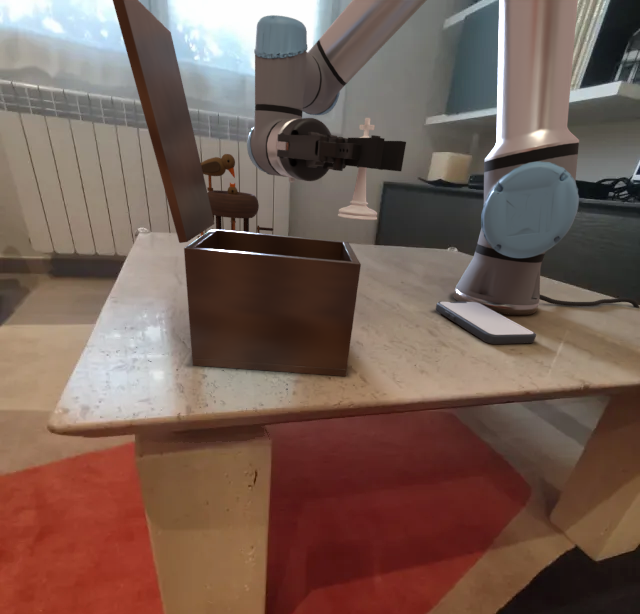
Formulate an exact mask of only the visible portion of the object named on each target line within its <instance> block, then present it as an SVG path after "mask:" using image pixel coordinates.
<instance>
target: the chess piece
mask: <svg viewBox="0 0 640 614" xmlns="http://www.w3.org/2000/svg"><path fill="white" fill-rule="evenodd" d="M371 120H372V119H371V117H364V124H359V129H358V130H361V131H363V135H362V136H360V137H358V138H371V136H370V131H375V126H376V125H375V124H371ZM367 169H368V168H365V167H359V168H358V169H357V174H356V175H357V177H356V181H355V185H354V190H353V195H352V198H351V200H350V201H349V203H350V204H349V205H347V206H343V207H341V208H339V209H338V214H337V217H339V218H344V219H351V220H360V221H361V220H362V221H377V220H378V217H377V216H378V212H377V211H376V210H374V209H373V208H371V207H368V205H369V202H367Z"/></svg>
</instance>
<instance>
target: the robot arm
mask: <svg viewBox="0 0 640 614" xmlns="http://www.w3.org/2000/svg"><path fill="white" fill-rule="evenodd" d="M427 1H428V0H351V1H350V2H349V3H348V4H347V6H346V7H345V8H344V9H343V10H342V12H341V13H340V14H339V15H338V16H337V18H335V19H334V21H333V22H332V23H331V24H330V26H329V27H328V28H327V29H326V30H325V32H324V33H323V34H322V35H321V36H320V38H319V39H318V40H317V41H316V42H315V44H313V46H312V47H311V48H310V49H309V50H308V37H307V35H308V33H307V27H306V26H305V25H306V24H304V23H303V22H302V21H300V20H298V19H297V18H293V17H289V16H286V15H285V16H283V15H275V14H274V15H273V14H271V15H265V16H262V17H261V18H259V20H258V21H257V24H256V30H255V45H254V47H255V48H254V51H253V52H254V114H253V115H254V117H253V119H254V125H253V127H251V130H250V131H249V133H248V135H247V141H246V149H247V154H248V158H249V160H250V161H251V163H252V164H253V165H254V167H255V168H257V170H259V171H261V172H263V173H265V174H267V175H270V176H277V177H283V178H284V177H285V178H288V182H289V183H295V181H296V180H299V181H304V182H315V181H318V180H320V179H322V178H323V177H324V176H326V174H328V172H329V170H333V171H337V172H343V171H344V169H346V168H347V166H348V167H356V168H358V169H359V167H365V168H367V169H370V170H380V171H383V170H384V171H391V172H402V169H403V163H404V158H405V152H406V147H407V141H405V140H385V138H382V137H381V135H376V134H375V135H373V134H372V135H371V136H370V138H359V137H343V136H338V135H335V134H334V135H333V134H332V132H331V131H330V129H329V127H327V125H326V124H325V123H324V122H323V121H321V120H319V119H317V118H314V117H303V113H305V114H306V115H311V116H324V115H327V114H329V113H330V112H331V111H333V109H334V108H335V107H336V105H337V103H338V102H339V101H338V99H339V97H340V92H341V90H342V89H343V88H344V87H345V86H346V85H347V84H348V83H349V82H350V81H351V80H352V79H353V78H354V77H355V76H356V74H358V73H359V72H360V70H361V69H363V67H364V66H365V65H366V64H367V63H368V62H369V61H370V60H371V59H372V58H373V57H374V56H375V55H376V54H377V53H378V51H380V50H381V49H382V48H383V47H384V45H385V44H387V43H388V41H389V40H390V39H391V38H392V37H393V36H394V35H395V34H397V32H398V31H399V30H400V29H401V28H402V27H403V26H404V24H406V23H407V21H408V20H409V19H410V18H412V16H413V15H414V14H415V13H416V12H417V11H418V10H419V9H420V8H421V7H422V6H423V5H424V4H425V3H426V2H427ZM578 2H579V0H498V39H497V40H498V44H497V45H498V46H497V48H498V49H497V87H496V89H497V90H496V91H497V92H496V95H497V96H496V132H495V133H496V137H495V140H496V141H495V145H494V147H493V148H492V149H491V150H490V152H489V153H488V154H487V156H486V157H485V158H484V164H483V165H484V166H483V167H484V168H483V208H482V210H481V215H480V217H481V218H480V226H481V229H480V232H479V236H478V240H477V244H476V246H475V251H474V253H473V254H474V255H473V256H472V259H471V260H470V262H469V264H468V266H467V267H466V269H465V270H464V272H463V274H462V276H461V277H460V279H459V280H458V282H457V284H456V286H455V289H454V292H453V299H454V300H455V301H456V302H477V303H480V304H482V305H484V306H486V307H487V308H489V309H491V310H493V311H495V312H497V313H499V314H501V315H507V316H508V315H510V316H528V315H533V314H535V313H536V312H537V309H538V307H539V304H540V300H541V301H543V302H546V303H548V304H552V305H557V306H566V307H595V306H599V305H602V304H616V303H629V304H631V305H632V306H633V308H636V309H639V308H640V305H639V303H638V301H637V300H635V299H634V298H630V297H616V298H604V299H603V298H602V299H597V300H595V301H567V300H560V299H555V298H551V297H548V296H546V295H543V294H540V293H541V267H542V263H543V261H544V258H545V254H546V252H548V251H549V250H551V249H553V247H555V246H556V245H557V244H559V242H561V241H562V239H564V237H565V236H566V235H567V234H568V232H569V231H570V229H571V227H572V226H573V224H574V221H575V220H576V217H577V214H578V211H579V205H580V195H579V188H578V186H577V182H576V181H577V180H576V179H577V168H578V167H577V166H578V156H579V146H580V138H579V139H578V138H577V136H576V135H574V134H573V133H572V132H571V131H570V129H569V127H568V121H569V109H570V98H571V96H570V95H571V86H572V85H571V84H572V73H573V61H574V49H575V48H574V47H575V39H576V38H575V37H576V25H577V13H578Z"/></svg>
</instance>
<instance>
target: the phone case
mask: <svg viewBox="0 0 640 614" xmlns="http://www.w3.org/2000/svg"><path fill="white" fill-rule="evenodd" d="M435 310H436V311H437V312H438V313H440V314H441V315H442V316H444V317H446V318H447V319H449V320H451V321H452V322H454V323H455V324H457V325H458V326H460V327H461V328H462V329H464V330H466V331H467V332H469V333H471V334H472V335H473V336H475V337H476V338H478V339H480V340H481V341H483V342H485V343H486V344H490V345H513V344H515V345H517V344H518V345H520V344H521V345H522V344H533V343H534V342H535V340H536V337H537V334H536V332H534V331H532V330H530V329H529V328H527V327H525V326H523V325H521V324H519V323H517V322H515V321H514V320H512V319H510V318H508V317H507V316H505V315H503V314H500V313H497V312H495V311H493V310H491V309H489V308H487V307H486V306H484V305H482V304H480V303H477V302H458V301H437V303H436V305H435Z"/></svg>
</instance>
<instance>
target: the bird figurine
mask: <svg viewBox="0 0 640 614" xmlns="http://www.w3.org/2000/svg"><path fill="white" fill-rule="evenodd" d="M235 165H236V159H235V157H234V156H233V155H232V154H230V153H224V154H223V155H222V156H221V157H219V156H214V157H210V158H207V159H205V160H203V161H201V167H202V171H203V175H204V176H207V178H208V179H207V180H208V187H207V186H206V189H207V193H208V197H209V202H210V206H211V210H212V215H213V219H214V220H215V229H218V230H223V229H222V226H223V225H222V218H229V219H230V221H229V222H230V231H236V223H237V220H236V219H243V223H242V224H243V225H242V226H243V229H242V230H243V232H250V219H253V218H254V217H255V216H256V215H257V214H258V212H259V209H260V206H259V205H260V204H259V199H258V198H257V197H256V195H255V194H253V193H249V192H241V191H238V189H237V187H236V182H234V183H231V182H229V187H228V188H227V190H221V189H220V190H219V189H218V190H215V189H214V188H213V185H212V177H221V176H223V175H224V174H225V173H226V170H227V171H228V172H229V173H230V174H231V176H232V177H233V178H236V174H235V173H236V172H235ZM211 229H214V228H213V227H212V228H211ZM256 230H257V231H256V233H261V232H260V231H268V232H273V231H274V228H273V227H265V226H264V227H262V226H260V225H257V226H256ZM204 234H205V233H204V231H203V232H202V233H200V235H197V236H196V237H197V238H196V240H197V239H198V238H200V237H201V236H202V235H204Z"/></svg>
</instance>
